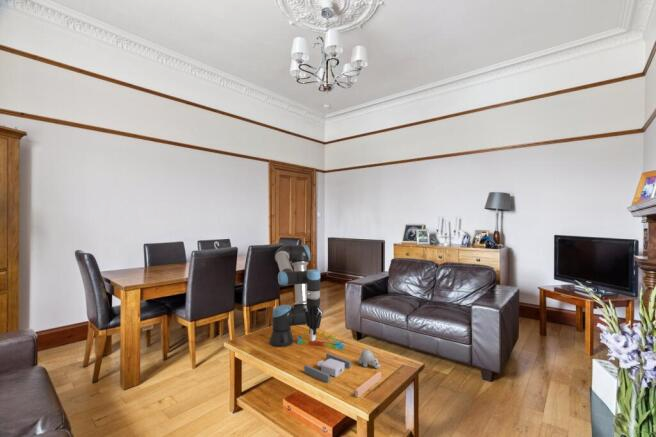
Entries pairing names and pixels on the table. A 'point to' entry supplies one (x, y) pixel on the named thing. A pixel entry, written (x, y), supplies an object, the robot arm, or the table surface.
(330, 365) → the charger
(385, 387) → the table surface
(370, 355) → the chubby cartoon animal
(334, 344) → the chart
